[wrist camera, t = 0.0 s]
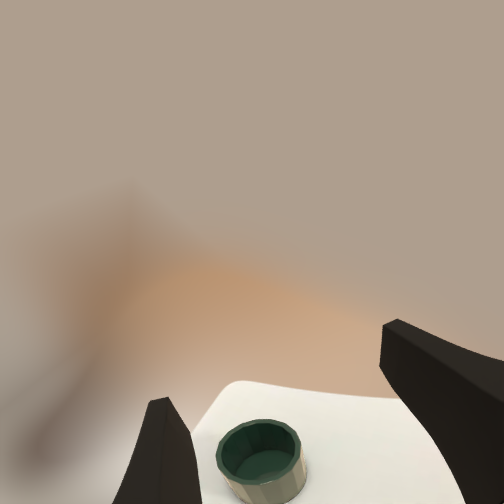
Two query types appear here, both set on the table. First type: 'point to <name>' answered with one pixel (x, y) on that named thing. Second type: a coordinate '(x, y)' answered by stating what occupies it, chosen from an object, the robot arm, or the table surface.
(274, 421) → the pot
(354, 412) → the table surface
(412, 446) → the table surface
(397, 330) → the robot arm
